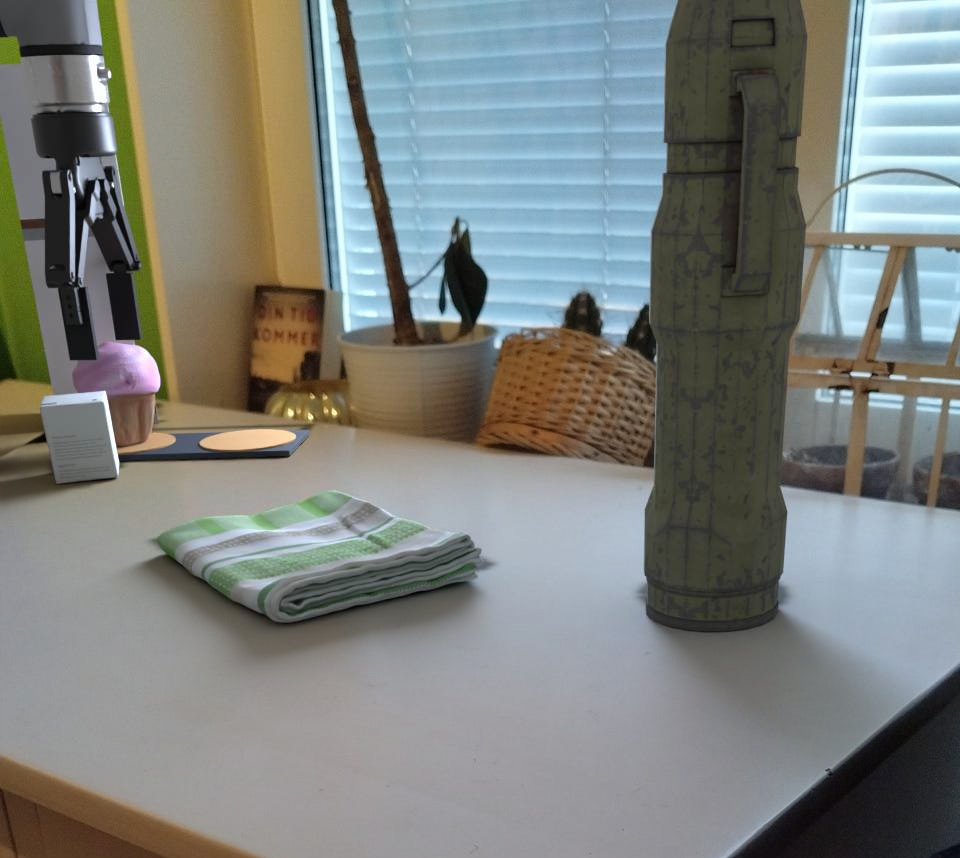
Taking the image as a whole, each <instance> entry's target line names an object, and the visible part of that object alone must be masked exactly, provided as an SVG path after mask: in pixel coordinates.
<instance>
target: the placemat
mask: <svg viewBox="0 0 960 858" xmlns="http://www.w3.org/2000/svg"><path fill="white" fill-rule="evenodd" d="M309 436H310V430H309V429H292V430H291V429H289V430H285V429H273V428H258V429H257V428H255V429H253V428H252V429H241V430H234V431H220V432H219V431H217V432H216V431H215V432H214V431H213V432H184V433H183V432H182V433H177V432H176V433H164V432H151V435H150V437H149V438H148V439H147V440H146V441H145V442H140V443H137V444H134V445H130V446H125V447H119V446H116V449H117V454H118V459H119V462H122V461H123V462H125V461H157V460H158V461H159V460H160V461H165V460H166V461H167V460H168V461H169V460H199V459H200V460H201V458H207V459H229V458H228V457H231V458H230V459H234V458H233V457H238V458H237V459H240V458H239V457H246V458H266V457H265V456H284V457H291V456H292V454H294V452H295V451H296V450H298V449H299V447H300V446H301V445H302V444H303V443H304V442H305V441H306V440H307V439H308V438H309ZM306 438H307V439H306ZM305 439H306V440H305ZM304 440H305V441H304ZM303 441H304V442H303ZM302 442H303V443H302ZM301 443H302V444H301ZM300 444H301V445H300ZM299 445H300V446H299ZM290 455H291V456H290Z"/></svg>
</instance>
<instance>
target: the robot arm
mask: <svg viewBox="0 0 960 858" xmlns="http://www.w3.org/2000/svg"><path fill="white" fill-rule="evenodd" d="M9 37H11V38H12V37H13V38H16V40H17V43H18V50H19V57H20V58H19V59H20V64H21V65H22V71H23V78H24V84H25V90H26V97H27V103H28V105H29V106H31V107H35V110H36V114H37V115H33V119H31V123H32V129H33V135H34V141H35V147H36V152H37V154H38V156H39V157H41V158H44V159H49V158H54V159H55V162H56V170H44V171H43V172H42V180H43V187H44V195H45V279H46V285H47V287H48V288H58V293H59V299H60V305H61V311H62V317H63V323H64V329H65V335H66V340H67V346H68V352H69V358H70V360H98V359H99V354H98V347H97V341H96V335H95V328H94V322H93V316H92V309H91V303H90V297H89V290H88V287H82V286H83V278H84V269H85V259H86V249H87V240H88V230H89V227H90V228H91V230H92V232H93V234H94V237H95V239H96V241H97V243H98V246H99V248H100V250H101V252H102V255H103V257H104V259H105V262H106V264H107V266H108V268H109V270H110V272H114V273H107V274H106V280H107V286H108V293H109V299H110V306H111V313H112V319H113V326H114V332H115V339H116V340H134V341H141V340H143V333H142V325H141V318H140V311H139V304H138V298H137V289H136V283H135V277H134V272H141V271H142V262H141V260H140V255H139V252H138V249H137V246H136V241H135V239H134V235H133V232H132V228H131V226H130V222H129V218H128V215H127V212H126V209H125V204H124V205H123V202H124V200H123V201H122V198H121V194H120V191H119V186H118V180H117V175H116V170H115V167H114V166H102V162H101V157H108V156H114V155H115V154H116V155H117V153H118V146H117V145H118V143H117V137H116V131H115V124H114V123H115V122H114V116H111V113H110V112H109V113H104V112H105V109H104V105H108V106H109V104H110V102H111V100H110V99H111V98H110V91H109V85H108V80H110V79H111V78H112V72H111V69H110V68H109V67H106V64H105V57H104V48H103V41H102V32H101V24H100V18H99V9H98V1H97V0H0V38H9Z"/></svg>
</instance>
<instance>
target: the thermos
mask: <svg viewBox="0 0 960 858" xmlns="http://www.w3.org/2000/svg"><path fill="white" fill-rule="evenodd" d="M804 15H805V14H804V12H803V6H802V1H801V0H677V1H676V4H675V8H674V11H673V15H672V18H671V21H670V25H669V28H668V32H667V36H666V40H665V44H664V75H663V76H664V81H663V82H664V83H663V125H662V126H663V128H662V134H663V135H662V143H663V144H666V147H665V148H666V150H665V151H666V152H665V154H666V155H665V172H662V174H661V175H662V176H661V196H660V199H659V203H658V204H657V205H658V206H657V209H656V212H655V214H654V218H653V222H652V224H651V229H650V243H649V244H650V247H649V248H650V249H649V250H650V251H649V252H650V253H649V258H650V259H649V262H650V263H649V304H648V305H649V307H648V309H649V310H648V313H649V314H648V323H649V326H650V329H651V331H652V334H653V337H654V340H655V342H656V351H655V352H656V353H655V354H656V355H655V357H656V358H655V397H654V398H655V399H654V400H655V402H654V404H655V405H654V452H653V453H654V454H653V456H654V457H653V486H652V489H651V491H650V494H649V496H648V500H647V502H646V504H645V507H644V525H643V526H644V530H643V531H644V532H643V533H644V534H643V574H644V576H645V579H646V597H645V606H644V607H645V614H646V616H648V617H649V618H650V619H651V620H653V621H655V622H657V623H659V624H661V625H663V626H666V627H671V628H676V629H680V630H686V631H695V632H732V631H739V630H747V629H750V628H755V627H758V626H762V625H764V624H766V623H767V622H770V621H771V620H773V619H775V617H776V616H777V614H778V612H779V600H778V599H779V587H780V586H779V584H780V580H781V577H782V575H783V574H784V566H785V553H786V550H785V549H786V539H787V538H786V537H787V526H788V525H787V524H788V523H787V522H788V509H787V505H786V502H785V498H784V495H783V492H782V487H781V481H782V480H781V479H782V464H783V453H784V452H783V448H784V435H785V422H786V421H785V420H786V419H785V418H786V404H787V389H788V375H789V374H788V373H789V359H790V346H791V345H790V344H791V339H792V337H793V334H794V333H795V331H796V328H797V326H798V325H799V321H800V319H801V305H802V292H803V291H802V290H803V289H802V288H803V274H804V261H805V246H806V231H807V224H806V219H805V216H804V210H803V207H802V201H801V198H800V194H799V193H800V192H799V190H798V188H799V172H800V168H799V167H797V166H796V164H797V163H796V161H797V147H798V137H802V126H803V111H804V109H803V108H804V93H805V81H806V80H805V77H806V65H807V49H808V31H807V27H806V21H805V16H804Z"/></svg>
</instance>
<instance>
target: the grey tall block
mask: <svg viewBox="0 0 960 858" xmlns="http://www.w3.org/2000/svg"><path fill="white" fill-rule="evenodd" d="M104 109H105V112H104V113H110V108H109V104H108V105H104ZM33 115H37V114H36V110H35V107H31V106H29V105H28V103H27V97H26V90H25V84H24V78H23V71H22V65H21V63H6V64H5V63H4V64H0V122H1V127H2V133H3V138H4V142H5V143H4V144H5V148H6V154H7V158H8V159H7V160H8V164H9V170H10V174H11V180H12V185H13V190H14V195H15V200H16V206H17V211H18V212H17V213H18V217H19V221H20V226H21V227H20V228H21V233H22V237H23V242H24V248H25V253H26V259H27V264H28V267H29V268H28V269H29V275H30V279H31V285H32V291H33V295H34V299H35V301H34V302H35V305H36V311H37V312H36V313H37V316H38V321H39V327H40V333H41V338H42V342H43V343H42V344H43V348H44V349H43V350H44V353H45V354H44V355H45V359H46V364H47V369H48V375H49V379H50V385H51V391H52V394H53V395H64V394H76V393H78V392H77V390H76V389H75V387H74V383H73V377H72V372H73V370H74V369H75V367H76V366H77V363H78V360H70V358H69V352H68V346H67V340H66V335H65V329H64V323H63V317H62V311H61V305H60V299H59V293H58V288H48V287H47V285H46V279H45V195H44V187H43V180H42V172H43V171H44V170H56V162H55V159H54V158H49V159H44V158H41V157H39V156H38V154H37V152H36V147H35V141H34V135H33V129H32V123H31V119H33ZM101 162H102V166H114V167H115V170H116V175H117V180H118V186H119V191H120V194H121V198H122V201H123V205H124V206H125V201H124V196H123V190H122V184H121V183H122V182H121V176H120V171H119V165H118V159H117V153H116V154H115V155H114V156H108V157H101ZM107 273H114V272H110V270H109V268H108V266H107V264H106V262H105V259H104V257H103V255H102V252H101V250H100V248H99V246H98V243H97V241H96V239H95V237H94V234H93V232H92V230H91V228H90V227H89V230H88V240H87V249H86V259H85V269H84V278H83V286H82V287H88V290H89V297H90V303H91V309H92V316H93V322H94V328H95V335H96V341H97V346H99V345H101V344H102V343H104V342H114V343H119V344H127V345H136V343H135V340H116V339H115V332H114V326H113V319H112V313H111V306H110V299H109V293H108V286H107V280H106V274H107ZM156 403H157V402H155V407H154V408H155V412H154V421H153V425H156V424H159V416H158V409H157V404H156Z"/></svg>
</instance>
